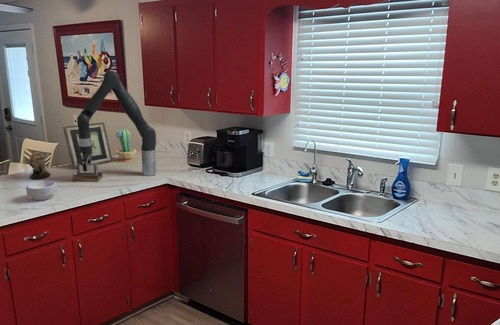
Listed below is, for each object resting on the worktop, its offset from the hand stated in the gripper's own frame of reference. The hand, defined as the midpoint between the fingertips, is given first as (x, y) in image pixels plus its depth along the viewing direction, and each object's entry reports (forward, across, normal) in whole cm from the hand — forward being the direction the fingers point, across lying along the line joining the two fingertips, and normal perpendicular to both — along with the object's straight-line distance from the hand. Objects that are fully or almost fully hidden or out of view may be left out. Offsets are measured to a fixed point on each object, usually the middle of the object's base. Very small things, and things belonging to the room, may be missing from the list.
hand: (87, 169), depth 267 cm
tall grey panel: (+5, 0, 0) cm, 5 cm away
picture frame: (+7, -44, -13) cm, 46 cm away
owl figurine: (+7, -8, -34) cm, 36 cm away
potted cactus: (+7, -58, +11) cm, 59 cm away
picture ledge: (+7, 0, 0) cm, 7 cm away
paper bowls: (+7, +39, -12) cm, 41 cm away
